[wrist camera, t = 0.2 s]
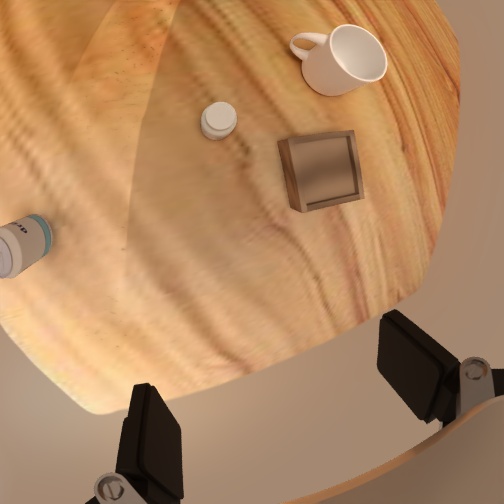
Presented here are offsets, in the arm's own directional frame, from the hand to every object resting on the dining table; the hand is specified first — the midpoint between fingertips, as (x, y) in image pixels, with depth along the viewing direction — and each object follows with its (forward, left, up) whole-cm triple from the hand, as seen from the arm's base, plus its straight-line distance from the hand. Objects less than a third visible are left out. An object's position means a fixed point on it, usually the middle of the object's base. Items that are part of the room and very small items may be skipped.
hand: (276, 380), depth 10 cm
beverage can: (-6, -29, -32) cm, 43 cm away
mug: (-21, +20, -32) cm, 43 cm away
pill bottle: (-14, +3, -32) cm, 35 cm away
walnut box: (-5, +16, -32) cm, 36 cm away
